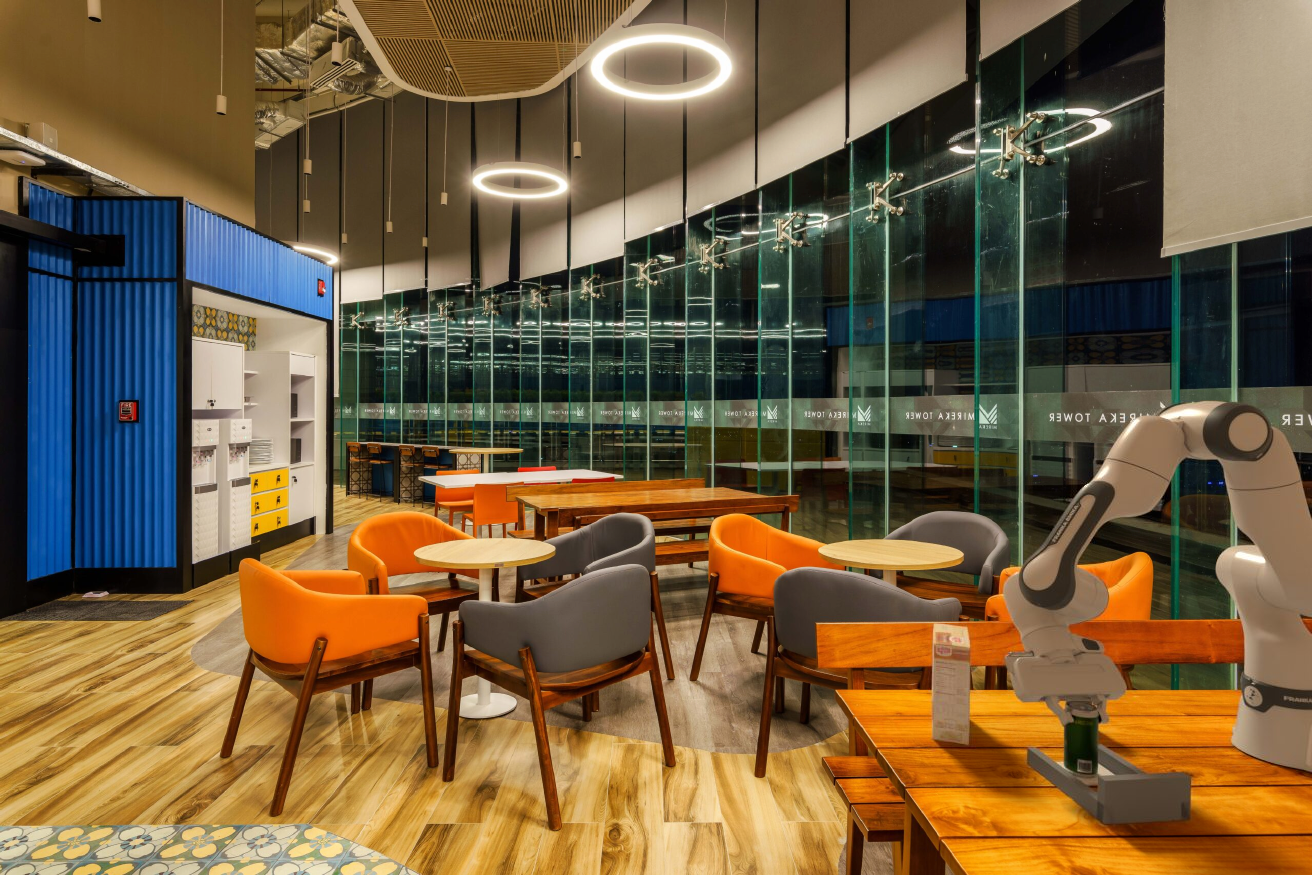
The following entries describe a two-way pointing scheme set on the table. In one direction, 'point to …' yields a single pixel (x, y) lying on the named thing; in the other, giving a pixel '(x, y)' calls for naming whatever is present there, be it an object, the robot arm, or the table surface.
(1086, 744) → the beer can
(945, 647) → the coffeecake box
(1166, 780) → the bay
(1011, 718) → the table surface
